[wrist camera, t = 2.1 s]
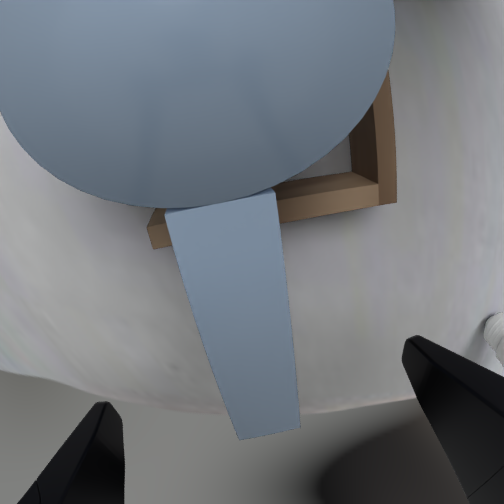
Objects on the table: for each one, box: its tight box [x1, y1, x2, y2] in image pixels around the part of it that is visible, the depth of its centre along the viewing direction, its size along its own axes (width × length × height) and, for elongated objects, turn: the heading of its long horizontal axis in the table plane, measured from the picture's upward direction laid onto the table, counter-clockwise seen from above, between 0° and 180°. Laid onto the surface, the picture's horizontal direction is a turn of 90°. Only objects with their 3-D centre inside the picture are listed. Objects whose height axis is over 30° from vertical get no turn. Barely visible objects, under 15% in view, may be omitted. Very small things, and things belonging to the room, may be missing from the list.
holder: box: [147, 71, 397, 249], centre depth 9 cm, size 9×13×2 cm
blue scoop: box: [0, 0, 395, 440], centre depth 8 cm, size 16×8×6 cm, turn 11°
